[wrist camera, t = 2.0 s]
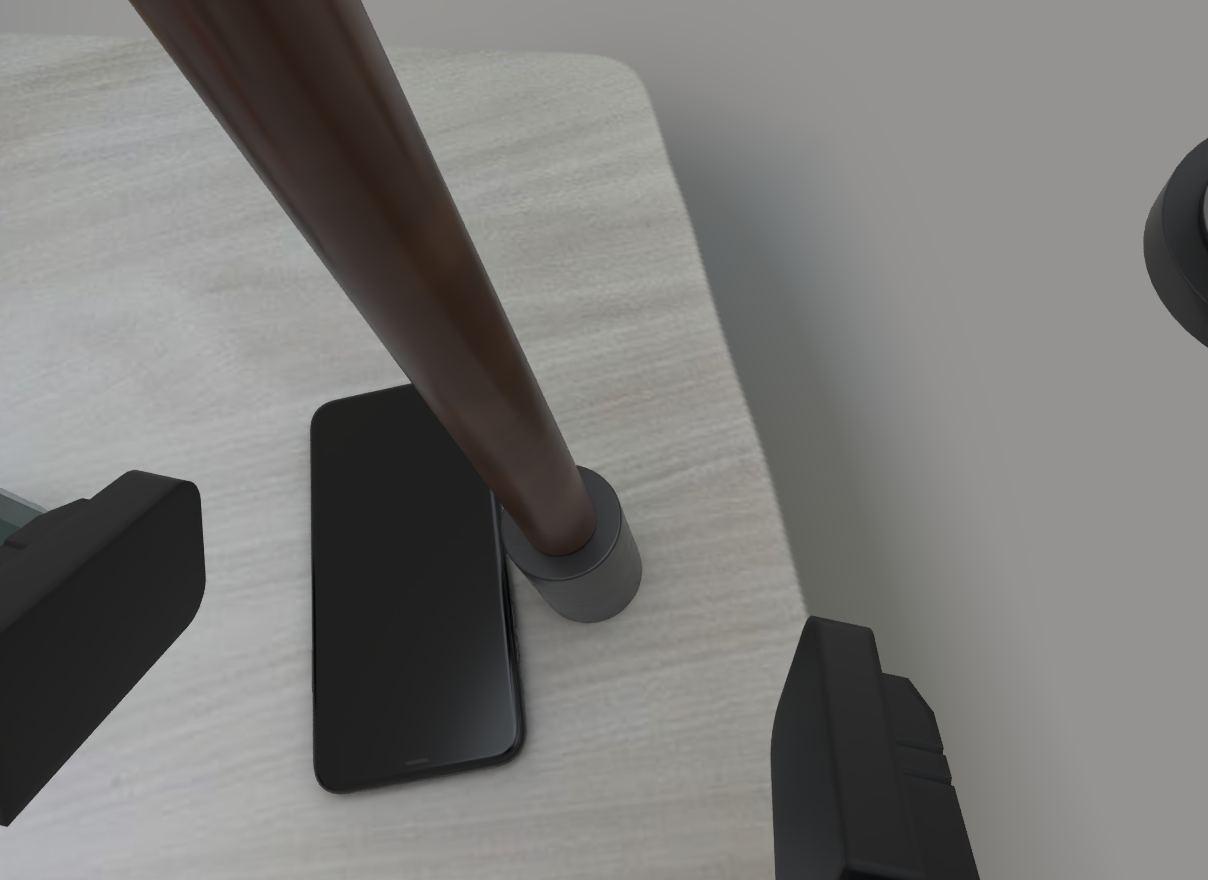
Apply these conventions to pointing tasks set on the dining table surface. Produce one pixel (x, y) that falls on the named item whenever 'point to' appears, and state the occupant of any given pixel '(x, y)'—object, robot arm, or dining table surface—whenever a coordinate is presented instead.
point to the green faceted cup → (15, 513)
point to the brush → (403, 264)
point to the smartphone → (406, 601)
